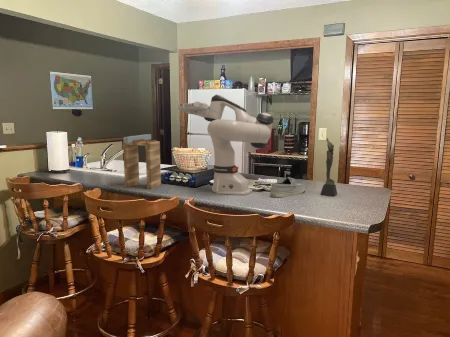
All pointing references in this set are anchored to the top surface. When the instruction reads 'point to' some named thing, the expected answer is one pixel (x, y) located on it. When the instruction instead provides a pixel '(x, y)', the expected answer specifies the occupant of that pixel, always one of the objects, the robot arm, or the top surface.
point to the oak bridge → (133, 163)
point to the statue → (329, 186)
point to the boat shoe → (287, 188)
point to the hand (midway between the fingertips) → (186, 104)
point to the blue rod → (136, 138)
